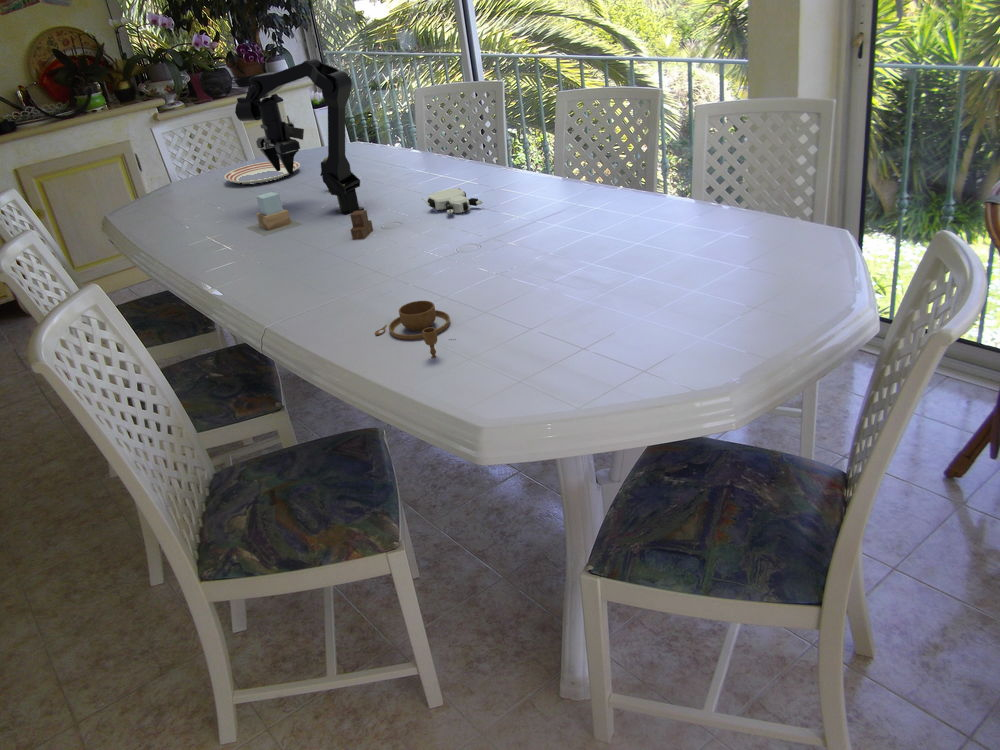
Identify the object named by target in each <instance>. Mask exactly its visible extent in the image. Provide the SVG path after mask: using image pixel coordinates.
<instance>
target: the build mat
mask: <svg viewBox="0 0 1000 750" xmlns="http://www.w3.org/2000/svg"><path fill="white" fill-rule="evenodd" d="M290 220H291V224H290V225H286V226H283V227H280V228H277V229H273V230H270V231H269V230H266V229H264V228H262V227H260V226H259V223H257V224H254V225H250V226H247V227H245V229H248V230H250V231H252V232H254V233H257V234H259V235H260V236H263V237H265V236H268V235H272V234H275V233H279V232H283V231H284V230H288V229H291V228H295V227H298V226H301V225H303V223H301V222H299V221H296V220H293V219H291V218H290Z"/></svg>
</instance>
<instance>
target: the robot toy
mask: <svg viewBox="0 0 1000 750" xmlns="http://www.w3.org/2000/svg"><path fill="white" fill-rule="evenodd" d="M421 200H423V201H424V202H425V203H426V204H427V206H429V207H431V208H432V209H434V210H435V211H438V210H441V211H443V210H445V211H446V214H449V215H450V214H453V213H454V214H456V213H459V214H463V213H465V211H466V212H468V211H470V206H473V207H477V206H479V205H482V204H483V203H484V202H483V200H479V199H478V198H475V197H470V198H468V197H467V192H465V191H464V190H462V189H461V188H460V187H459V186H457V188H447V189H443V190H439V191H436V192H433V193H431V194H430V195H429V196H428V199H427V200H426V199H425V198H424V197H421ZM462 212H463V213H462Z"/></svg>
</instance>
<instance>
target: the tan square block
mask: <svg viewBox="0 0 1000 750" xmlns="http://www.w3.org/2000/svg"><path fill="white" fill-rule="evenodd" d="M256 218H257V223H258V224H259V226H260V227H262V228H264V229H266V230H269V231H270V230H273V229H277V228H280V227H283V226H286V225H290V224H291V220H292V219H291V216H290V213H289V210H287V209H284V208H283V211H282V212H278V213H275V214H272V215H268V216H267V215H264V214H262V213H261V212H257V213H256ZM290 219H291V220H290Z"/></svg>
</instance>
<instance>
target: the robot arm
mask: <svg viewBox="0 0 1000 750" xmlns="http://www.w3.org/2000/svg"><path fill="white" fill-rule="evenodd" d="M307 77H308V78H309V79H310V80H311V82H312V83H313V84H314V85H315V86H316V87H317V88H319V89H321V93H322V98H323V100H324V101H325V103H326V106H327V157H328V158H327V160H324V159H323V160H324V161H323V160H322V161H321V162H320V168H321V169H320V171H321V172H320V176H321V178H322V181H323V183H324V184H325V186H326V188H327V190H328V189H329V191H330V193H329V194H330V195H331V196H336V199H337V203H338V207H339V209H337V210H335V213H337V214H340V215H343V216H348V215H351V214H352V213H353V212H354V211H361V210H365V207H362V206H360V205H359V200H358V195H357V190H356V189H357V188H360V186H361V179H360V178H358V176H356V175H355V174H354V173H353V172H352V170H351V165H350V164H351V163H350V161H349V160H348V158H347V156H346V106H347V104H348V101H349V99H350V97H351V90H352V83H353V82H352V79H351V77H350V75H349V74H347V73H346V72H345V71H343V70H339V69H337V68H336V67H334V66H331V65H329V64H326V63H324V62H322V61H320V60H319V59H316V58H310V59H308V60H304V61H303V62H302V63H299V64H295V65H294V66H291V67H288V68H286V69H283V70H280V71H273V72H272V71H270V72H264V73H261V74H258V75H254V76H252V77H250V78H249V81H248V87H247V92H246V95H245V96H240V97H237V98H236V102H237V103H236V105H235V111H234V112H235V116H236V117H237V119H238V120H239V121H240V122H255V121H256V122H257V121H261V124H260V128H261V129H263V131H264V135H265V136H260V137H257V140H256V147H257V149H259V150H260V152H262V154H263V155H264V156H265V158H266V159H267V161H268V162H269V161H270V163H271V164H272V165H273V167H274V168H275V169H276V171H280V161H281V162H282V164H283V165H284V167H285V169H286V170H287V172H288V174H289V175H288V176H291V175H293V174H294V172H293V162H294V160H295V155H296V154H297V153H299V151H300V149H301V145H300V141H298V140H302V141H304V133H305V129H304V128H301V127H295V126H294V124H293V123H289V122H286V121H283V119H282V116H281V115H282V114H281V112H280V106H279V103H283V101H284V98H283V97H281V96H279V95H278V94H277V93H276V92H277V91H279V90H281V89H282V88H283V86H285V85H287V84H289V83H293V82H295V81H299V80H301V79H304V78H307ZM269 96H270V97H269ZM297 139H298V140H297ZM343 184H345V186H343Z"/></svg>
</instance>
